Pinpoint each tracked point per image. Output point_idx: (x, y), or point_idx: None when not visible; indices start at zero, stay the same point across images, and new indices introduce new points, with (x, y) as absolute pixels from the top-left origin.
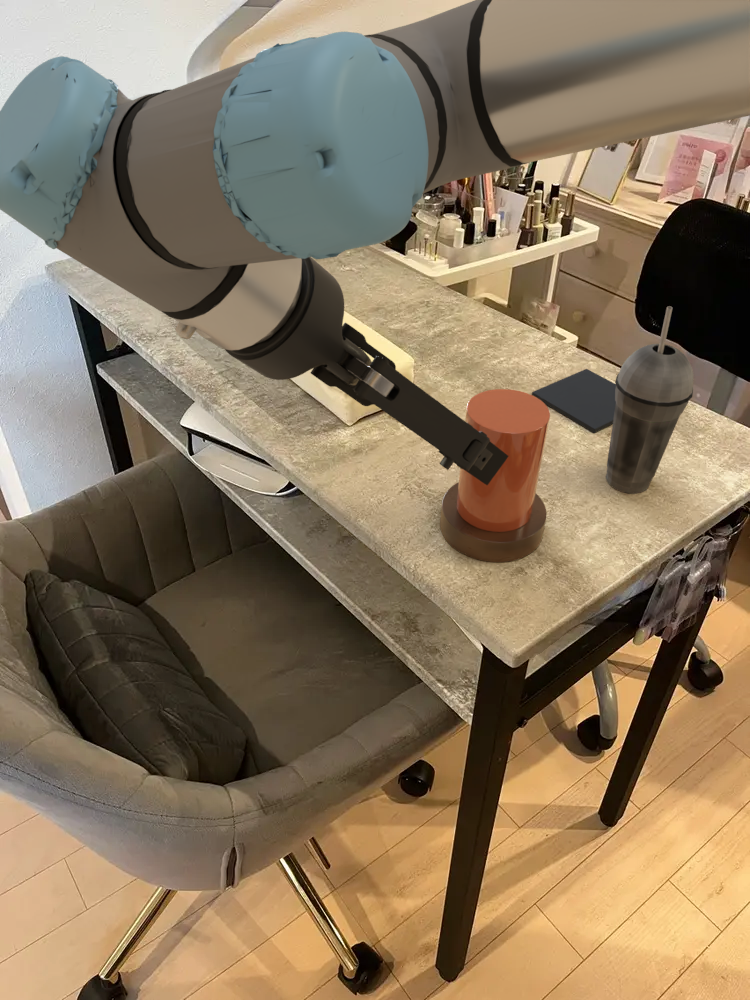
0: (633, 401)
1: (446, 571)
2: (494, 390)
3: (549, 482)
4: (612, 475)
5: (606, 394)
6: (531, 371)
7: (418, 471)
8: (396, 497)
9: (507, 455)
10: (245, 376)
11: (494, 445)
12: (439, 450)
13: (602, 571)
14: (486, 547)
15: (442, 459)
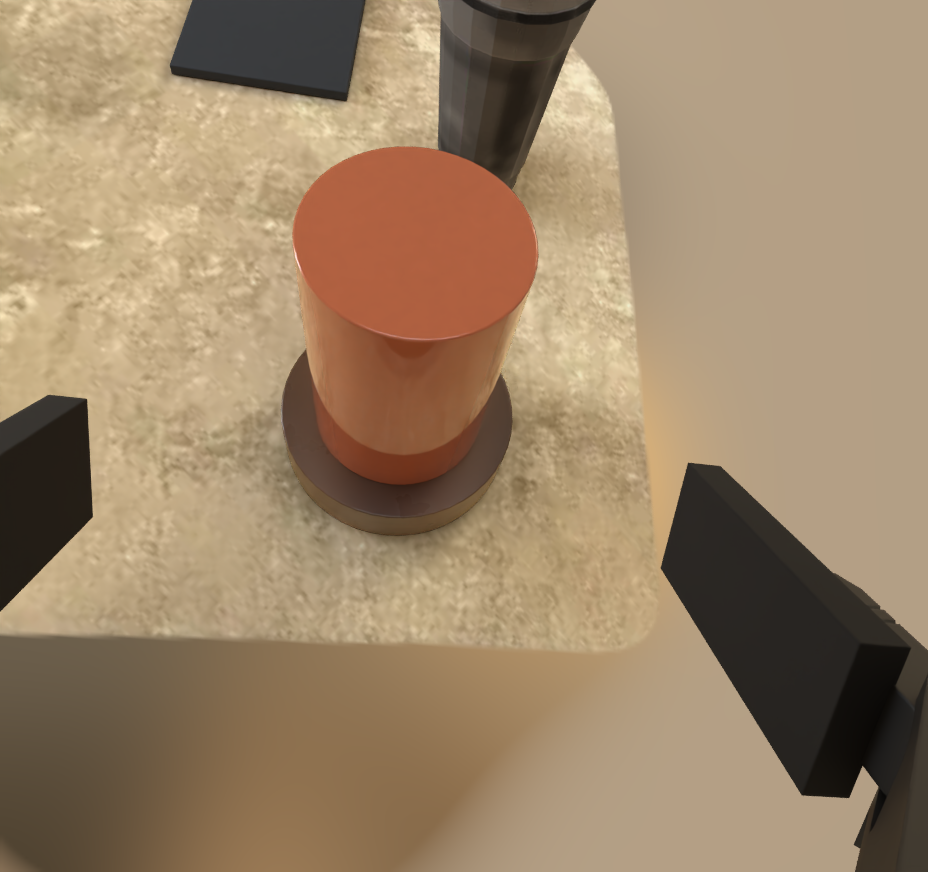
0: (524, 27)
1: (428, 599)
2: (317, 187)
3: None
4: None
5: (292, 3)
6: (115, 12)
7: (148, 405)
8: (172, 507)
9: (724, 470)
10: None
11: (770, 515)
12: (807, 790)
13: (612, 382)
14: (464, 504)
15: (864, 828)
